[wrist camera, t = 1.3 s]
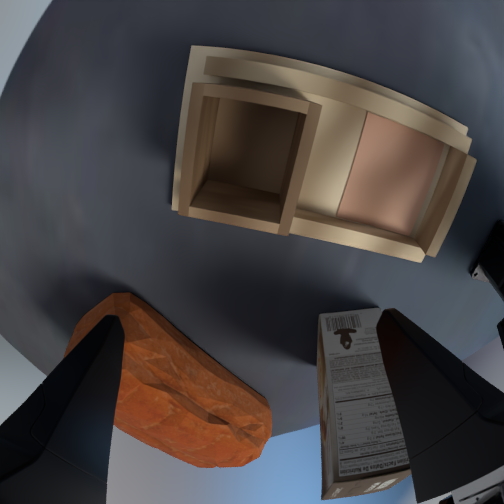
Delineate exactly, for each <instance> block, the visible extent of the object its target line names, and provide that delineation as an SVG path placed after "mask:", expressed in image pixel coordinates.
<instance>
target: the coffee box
mask: <svg viewBox="0 0 504 504" xmlns="http://www.w3.org/2000/svg"><path fill="white" fill-rule="evenodd" d="M381 314H382V311H381V309H380V308H370V309H362V310H353V311H345V312H335V313H324V314H319V319H318V343H317V379H318V394H319V411H320V431H321V460H322V495H321V499H322V500H328V499H335V498H343V497H351V496H358V495H364V494H369V493H374V492H379V491H383V490H387V489H389V488H391V487H392V486H394V485H396V484H397V483H399V482H400V481H402V480H403V479H405V478H406V477H408V476H409V475H410V474H412V473H411V468H410V464H409V458H408V454H407V449H406V445H405V441H404V436H403V432H402V428H401V424H400V421H399V417H398V413H397V409H396V406H395V402H394V398H393V395H392V392H391V388H390V385H389V381H388V378H387V375H386V372H385V368H384V364H383V360H382V355H381V350H380V346H379V341H378V337H377V332H376V325H377V322H378V320H379V318H380V316H381Z"/></svg>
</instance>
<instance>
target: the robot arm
mask: <svg viewBox="0 0 504 504" xmlns="http://www.w3.org/2000/svg"><path fill="white" fill-rule="evenodd" d="M470 275H471V277H472V278H473V279H477V280H480V281H484V282H488V283H491V284H492V286H493V287H494V289H495V290H496V291H497V293H498V294H499V296H500V297H501V298H502V300H503V301H504V221H502V220H498V221H497V223H496V224H495V227H494V229H493V231H492V233H491V235H490V237H489V239H488V241H487V243H486V245H485V247H484V249H483V251H482V253H481V254H480V256H479V258H478V260H477V262H476V264H475V265H474V267H473V269H472V271H471V273H470ZM497 329H498V332H499V335H500V338H501V342H502V345H503V349H504V318H503V319H502V321H500V322H499V323H498V325H497ZM376 332H377V337H378V341H379V346H380V350H381V355H382V360H383V364H384V368H385V372H386V375H387V378H388V381H389V385H390V388H391V392H392V395H393V398H394V402H395V406H396V409H397V413H398V417H399V421H400V424H401V428H402V432H403V436H404V441H405V445H406V449H407V454H408V458H409V464H410V468H411V473H412V478H413V484H414V489H415V495H416V501H417V503H421V502H424V501H427V500H430V499H432V498H435V497H438V496H441V495H443V494H446V493H448V492H450V491H451V493H452V494H451V495H450V496H448V497H446V498H444V499H443V500H441V501H440V502H439V504H504V393H503V392H502V391H500V390H499V389H497V388H496V387H495V386H493V385H492V384H490V383H489V382H488V381H486V380H485V379H484V378H482V377H481V376H479V375H478V374H477V373H476V372H474V371H473V370H472V369H470V368H469V367H468V366H467V365H466V364H465V363H462V361H461V360H460V359H458V358H457V357H456V356H455V355H454V354H452V353H451V352H450V351H449V350H447V349H446V348H445V347H444V346H442V345H441V344H440V343H439V342H438V341H436V340H435V339H434V338H432V337H431V336H430V335H429V334H427V333H426V332H425V331H424V330H422V329H421V328H420V327H419V326H417V325H416V324H415V323H413V322H412V321H411V320H410V319H408V318H407V317H406V316H404V315H403V314H402V313H400V312H399V311H398V310H397V309H395V308H389V309H385V310H384V311H383V312H382V314H381V316H380V318H379V320H378V322H377V325H376ZM124 342H125V332H124V329H123V326H122V324H121V321H120V318H119V316H118V315H111V314H107V315H105V316H104V317H103V318H102V319H101V320H100V321H99V322H98V323H97V324H96V325H95V326H94V327H93V328H92V329H91V330H90V331H89V332H88V333H87V334H86V335H85V336H84V338H83V339H82V340H81V341H80V342H79V343H78V344H77V345H76V346H75V347H74V348H73V349H72V350H71V351H70V352H69V353H68V354H67V355H66V357H65V358H64V359H63V360H62V361H61V362H60V363H59V364H58V365H57V366H56V367H55V369H54V370H53V371H52V372H51V373H50V374H49V375H48V376H47V378H46V379H45V380H44V381H43V382H42V384H40V385H39V386H38V387H37V389H36V390H35V391H34V392H33V393H32V394H31V395H30V396H29V397H28V399H27V400H26V401H25V402H24V403H23V404H22V405H21V406H20V407H19V408H18V409H17V410H16V411H15V412H14V413H13V414H11V415H10V416H9V417H8V418H7V420H5V421H4V422H3V423H2V424H1V425H0V504H106V493H107V476H108V464H109V455H110V446H111V438H112V430H113V424H114V417H115V410H116V404H117V398H118V393H119V387H120V382H121V374H122V362H123V352H124Z"/></svg>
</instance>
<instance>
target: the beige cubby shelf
mask: <svg viewBox="0 0 504 504" xmlns="http://www.w3.org/2000/svg"><path fill="white" fill-rule="evenodd" d="M193 82H198V83H216V84H224V85H231V86H238V87H245V88H251V89H257V90H262V91H267V92H273V93H277V94H282V95H287V96H291V97H296V98H300V99H304V100H308V101H312V102H314V103H317V104H320V105H323V106H322V110H321V114H320V118H319V122H318V126H317V130H316V134H315V138H314V142H313V146H312V150H311V154H310V158H309V161H308V165H307V169H306V173H305V177H304V180H303V184H302V188H301V192H300V195H299V199H298V203H297V206H296V210H295V214H294V217H293V221H292V224H291V228H290V231H289V233H292V234H297V235H302V236H306V237H311V238H316V239H320V240H325V241H329V242H334V243H338V244H343V245H347V246H352V247H356V248H360V249H365V250H369V251H373V252H378V253H382V254H386V255H390V256H395V257H399V258H403V259H407V260H411V261H416V262H420V263H421V262H422V260H423V258H424V256H425V255H428V256H432V257H436V255H437V253H438V251H439V249H440V247H441V245H442V243H443V241H444V239H445V237H446V235H447V233H448V230H449V228H450V226H451V224H452V222H453V220H454V217H455V215H456V213H457V211H458V208H459V206H460V203H461V201H462V199H463V196H464V194H465V191H466V189H467V186H468V183H469V181H470V178H471V175H472V173H473V170H474V167H475V164H476V161H477V159H475V158H473V157H471V156H470V155H468V151H469V148H470V144H471V141H472V139H471V138H469V137H467V136H466V134H467V131H468V128H467V127H466V126H464V125H462V124H461V123H459V122H457V121H455V120H454V119H452V118H450V117H448V116H446V115H444V114H442V113H441V112H439V111H437V110H435V109H433V108H431V107H429V106H427V105H425V104H423V103H420V102H418V101H416V100H414V99H412V98H410V97H407V96H405V95H403V94H400V93H398V92H396V91H393V90H391V89H388V88H386V87H383V86H381V85H378V84H376V83H373V82H370V81H367V80H365V79H362V78H359V77H356V76H353V75H350V74H347V73H344V72H340V71H337V70H334V69H330V68H327V67H323V66H319V65H316V64H312V63H308V62H304V61H299V60H295V59H290V58H286V57H281V56H276V55H270V54H265V53H259V52H252V51H246V50H238V49H230V48H220V47H209V46H193V45H192V46H191V51H190V57H189V62H188V68H187V74H186V80H185V86H184V93H183V100H182V107H181V115H180V123H179V131H178V140H177V149H176V159H175V171H174V183H173V197H172V210H175V211H178V204H179V191H180V179H181V168H182V158H183V149H184V140H185V132H186V124H187V116H188V109H189V102H190V96H191V89H192V83H193Z"/></svg>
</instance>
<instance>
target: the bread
mask: <svg viewBox="0 0 504 504" xmlns="http://www.w3.org/2000/svg"><path fill="white" fill-rule="evenodd" d="M107 314H111V315H118V316H119V318H120V321H121V324H122V326H123V329H124V332H125V342H124V352H123V362H122V374H121V382H120V387H119V393H118V398H117V404H116V410H115V417H114V424H113V425H115V426H116V427H117V428H119V429H120V430H122V431H124V432H125V433H127V434H129V435H131V436H132V437H134V438H136V439H138V440H140V441H141V442H143V443H145V444H147V445H149V446H151V447H154V448H158V449H159V450H161V451H163V452H165V453H167V454H169V455H171V456H173V457H175V458H178V459H180V460H182V461H184V462H187V463H189V464H192V465H194V466H197V467H201V468H214V467H216V466H218V467H241V466H244V465H245V464H247V463H249V462H251V461H253V460H255V459H257V458H258V457H260V455H261V452H262V450H263V448H264V445H265V444H266V442H267V441H268V439H269V438H270V436H271V432H272V416H271V409H270V407H269V404H268V402H267V399H265V398H264V397H263V396H261V395H260V394H258V393H257V392H256V391H254V390H253V389H251V388H250V387H249V386H247V385H246V384H245V383H243V382H242V381H241V380H240V379H238V378H237V377H236V376H234V375H233V374H232V373H231V372H229V371H228V370H227V369H225V368H224V367H223V366H221V365H220V364H219V363H217V362H216V361H215V360H214V359H212V358H211V357H210V356H208V355H207V354H206V353H205V352H203V351H202V350H201V349H200V348H199V347H197V346H196V345H195V344H194V343H192V342H191V341H190V340H189V339H188V338H187V337H185V336H184V335H183V334H182V333H181V332H179V331H178V330H177V329H176V328H175V327H174V326H173V325H172V324H171V323H169V322H168V321H167V320H166V319H165V318H164V317H163V316H162V315H160V314H159V313H158V312H157V311H155V310H154V309H153V308H152V307H150V306H149V305H148V304H147V303H145V302H144V301H142V300H141V299H139V298H138V297H136V296H135V295H133V294H132V293H130V292H128V293H112V294H111V295H110V296H108V297H107V298H106V299H104V300H103V301H102V302H100V303H99V304H98V305H96V306H95V307H94V308H92V309H91V310H90V311H89V312H87V313H86V314H85V315H84V316H83V317H82V318H81V320H80V321H79V322H78V323H77V325H76V327H75V330H74V332H73V335H72V337H71V339H70V341H69V344H68V346H67V349H66V352H65V355H64V358H65V357H66V355H67V354H68V353H69V352H70V351H71V350H72V349H73V348H74V347H75V346H76V345H77V344H78V343H79V342H80V341H81V340H82V339H83V338H84V336H85V335H86V334H87V333H88V332H89V331H90V330H91V329H92V328H93V327H94V326H95V325H96V324H97V323H98V322H99V321H100V320H101V319H102V318H103V317H104V316H105V315H107ZM64 358H63V359H64Z"/></svg>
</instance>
